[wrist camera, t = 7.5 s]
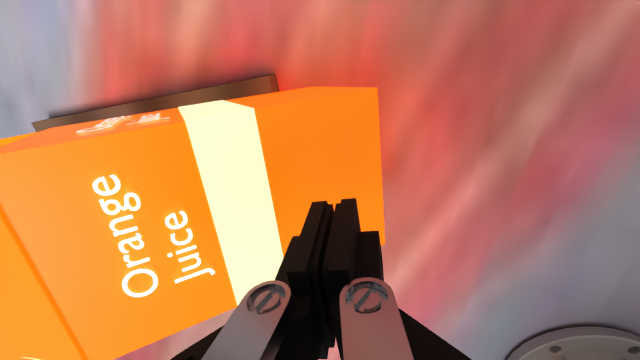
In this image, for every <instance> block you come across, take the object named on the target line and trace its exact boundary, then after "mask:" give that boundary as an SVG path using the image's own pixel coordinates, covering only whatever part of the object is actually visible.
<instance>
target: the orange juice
mask: <svg viewBox="0 0 640 360" xmlns="http://www.w3.org/2000/svg"><path fill="white" fill-rule="evenodd" d="M350 198H356V201H357V207H358V214H359V221H360V228H361V232H363V231H378V230H379V236H380V244H381V245H383V244H385V233H384V212H383V191H382V171H381V150H380V129H379V109H378V88H377V87H307V88H300V89H294V90H288V91H281V92H275V93H269V94H262V95H256V96H250V97H243V98H237V99H231V100H219V101H213V102H207V103H200V104H194V105H188V106H181V107H178V108H174V109H168V110H161V111H155V112H149V113H142V114H136V115H130V116H121V117H115V118H109V119H104V120H98V121H92V122H85V123H79V124H73V125H66V126H60V127H54V128H49V129H46V130H44V131H41V132H36V133H31V134H26V135H20V136H15V137H10V138H5V139H0V360H113V359H115V358H117V357H120V356H122V355H125V354H127V353H129V352H132V351H134V350H136V349H139V348H141V347H143V346H146V345H148V344H150V343H153V342H155V341H157V340H160V339H162V338H164V337H167V336H169V335H172V334H174V333H176V332H179V331H181V330H183V329H186V328H188V327H190V326H193V325H195V324H197V323H200V322H202V321H204V320H207V319H209V318H211V317H214V316H216V315H219V314H221V313H223V312H226V311H228V310H230V309H233V308H235V307H237V306H238V305H239V303H240V302H241V300H242V299H243V297H244V296H245V295H246V294H247V292H248V291H249V290H250V289H252V288H253V287H254V286H256V285H258V284H260V283H262V282H266V281H270V280H275V278H276V275H277V273H278V270H279V268H280V265H281V263H282V260H283V258H284V255H285V253H286V250H287V248H288V246H289V243H290V241H291V238H292V237H293V236H300V233H301V230H302V228H303V225H304V222H305V220H306V217H307V214H308V211H309V209H310V206H311V203H312V202H316V201H327V202H328V204H333V208H334V210H335V206H336V203H341V199H350Z"/></svg>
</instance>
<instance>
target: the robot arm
mask: <svg viewBox="0 0 640 360" xmlns="http://www.w3.org/2000/svg"><path fill="white" fill-rule="evenodd" d="M335 337H336V340H337V345H338V349H339V354H340V358H341V360H471V359H470V358H469V357H467V356H466V355H464V354H463V353H462V352H460V351H459V350H457V349H456V348H454V347H453V346H452V345H450V344H449V343H447V342H446V341H445V340H443V339H442V338H440V337H439V336H437V335H436V334H435V333H433V332H432V331H430V330H429V329H428V328H426V327H425V326H423V325H422V324H420V323H419V322H418V321H416V320H415V319H413V318H412V317H411V316H409V315H408V314H406V313H405V312H403V311H402V310H401V309H399V308H398V306H397V303H396V299H395V296H394V293H393V291H392V289H391V287H390V286H389V285H388V284H387V283H386V282H384V277H383V263H382V253H381V244H380V236H379V230H378V231H363V232H361V228H360V221H359V214H358V207H357V201H356V198H350V199H341V203H336V206H335V210H334V208H333V204H328V202H327V201H316V202H312V203H311V206H310V209H309V211H308V214H307V217H306V220H305V222H304V225H303V228H302V230H301V233H300V236H293V237H292V238H291V241H290V243H289V246H288V248H287V250H286V253H285V255H284V258H283V260H282V263H281V265H280V268H279V270H278V273H277V275H276V278H275V280H270V281H266V282H262V283H260V284H258V285H256V286H254V287H253V288H252V289H250V290H249V291H248V292H247V294H246V295H245V296H244V297H243V299H242V300H241V302H240V303H239V305H238V306H237V308H236V309H235V311H234V312H233V314H232V315H231V316H230V318H229V319H228V321H227V322H226V324H225V325H224V326H222V327H220V328H219V329H217V330H216V331H214V332H213V333H211V334H209V335H208V336H206V337H205V338H203V339H201V340H200V341H198V342H197V343H195V344H193V345H192V346H190V347H189V348H187V349H185V350H184V351H182V352H181V353H179V354H178V355H176V356H175V357H174V358H172V359H171V360H318V359H327V356H328V349H329V347H334V345H335ZM507 360H640V337H639V336H636V335H634V334H632V333H629V332H625V331H621V330H618V329H613V328H605V327H572V328H564V329H560V330H556V331H551V332H548V333H545V334H542V335H540V336H537V337H535V338H533V339H531V340H529V341H527V342H526V343H524V344H522V345H521V346H520V347H519V348H517V349H516V350H515V351H514V352H513V353H512V354H511V355H510V356H509V358H508V359H507Z"/></svg>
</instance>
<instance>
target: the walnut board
mask: <svg viewBox="0 0 640 360" xmlns="http://www.w3.org/2000/svg"><path fill="white" fill-rule="evenodd" d="M275 92H279V89H278V84H277V80H276V76H275V74H272V75H267V76H262V77H257V78H252V79H247V80H242V81H237V82H232V83H227V84H222V85H217V86H212V87H207V88H202V89H197V90H192V91H187V92H182V93H177V94H172V95H166V96H161V97H156V98H151V99H146V100H141V101H136V102H131V103H126V104H121V105H116V106H111V107H106V108H101V109H96V110H91V111H86V112H81V113H76V114H71V115H66V116H61V117H56V118H51V119H46V120H42V121H37V122H33V123H32V125H33V127H34V128H35V130H36V132H41V131H44V130H46V129H49V128H54V127H60V126H66V125H73V124H79V123H85V122H92V121H98V120H104V119H109V118H115V117H121V116H130V115H136V114H142V113H149V112H155V111H161V110H168V109H174V108H178V107H181V106H188V105H194V104H200V103H207V102H213V101H219V100H231V99H237V98H243V97H250V96H256V95H262V94H269V93H275Z"/></svg>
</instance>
